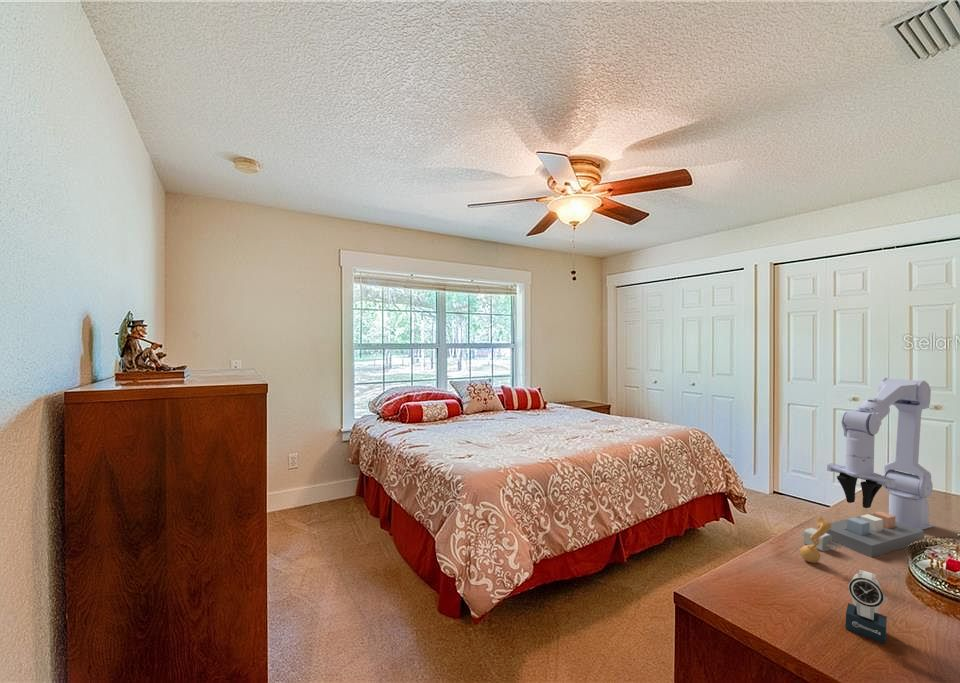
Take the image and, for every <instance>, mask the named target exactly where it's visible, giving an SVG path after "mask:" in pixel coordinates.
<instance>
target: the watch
mask: <svg viewBox="0 0 960 683" xmlns="http://www.w3.org/2000/svg"><path fill="white" fill-rule="evenodd" d="M876 575H877V574H876V573H872V572H869V571H865V570H864V569H863V570H862V569H859V571H858V573H855V574H854V576H853V578H852V579H851V580H850V582H849V583H848V591H849V594H850V596H851V600H852V602H853V604H852V603H847V607H846V612H845V629H846V630H848V631H850V632H853V633H855V634H858V635H861V636H863V637H865V638H868V639H871V640H873V641H875V642H879V643H880V644H881V643H882V644H884V645H886V644H887V643H886V642H887V622H888V620H887V619H888V618H887V616H886V615H884V614H881V613H878V611H879V610H880V607H882V605H883V604H884V602H888V596H885V595H884V592H883V590H882V587H881V585H880V582H879V580H878V579H877V578H876Z"/></svg>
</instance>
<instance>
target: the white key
mask: <svg viewBox="0 0 960 683" xmlns="http://www.w3.org/2000/svg"><path fill="white" fill-rule="evenodd" d="M869 514H870V513H868V514H862V515H859V516H860V519H861V520H864V521H867V522H870V529H869V530H870V531H873V532H875V533H877V532H881V531H883V519H881V518H878V517H875V516H872V515H869Z"/></svg>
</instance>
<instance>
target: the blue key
mask: <svg viewBox="0 0 960 683" xmlns="http://www.w3.org/2000/svg"><path fill="white" fill-rule="evenodd" d="M855 517H856V516H853V517H850V518H846V519H847V531H850V532H853V533H855V534H858V535H861V536H866V535H869V529H870V522H867V521H864V520H861V519H858V518H855Z"/></svg>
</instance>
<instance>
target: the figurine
mask: <svg viewBox="0 0 960 683" xmlns="http://www.w3.org/2000/svg"><path fill="white" fill-rule="evenodd" d="M816 520H817V530H818V531H817V532H816V533H814V534H813V535H812V536H810V538H809V539H811V540H812V542H813V543H814V545H812V544H811V545H806V544H804V545H803V546H802V545H801V546H802V547H801V548H800V549H799V553H800V556H801V557H802V559H804V561H805V562H808V563H812V564H814V563H815V564H817V562H819V561H820V560H821V553H820V550H818V549H816V548H815V547H816V546H817V545H818V544H819V540H818V539H817V538H819V537H820V536H822V535H824V534H825V533H826V532H827V531H828V530H829V529H830V528H831V524H830V523H831V522H829V521H827V520H825V519H824V518H822V517H821V516H817V518H816ZM814 539H815V540H814Z"/></svg>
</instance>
